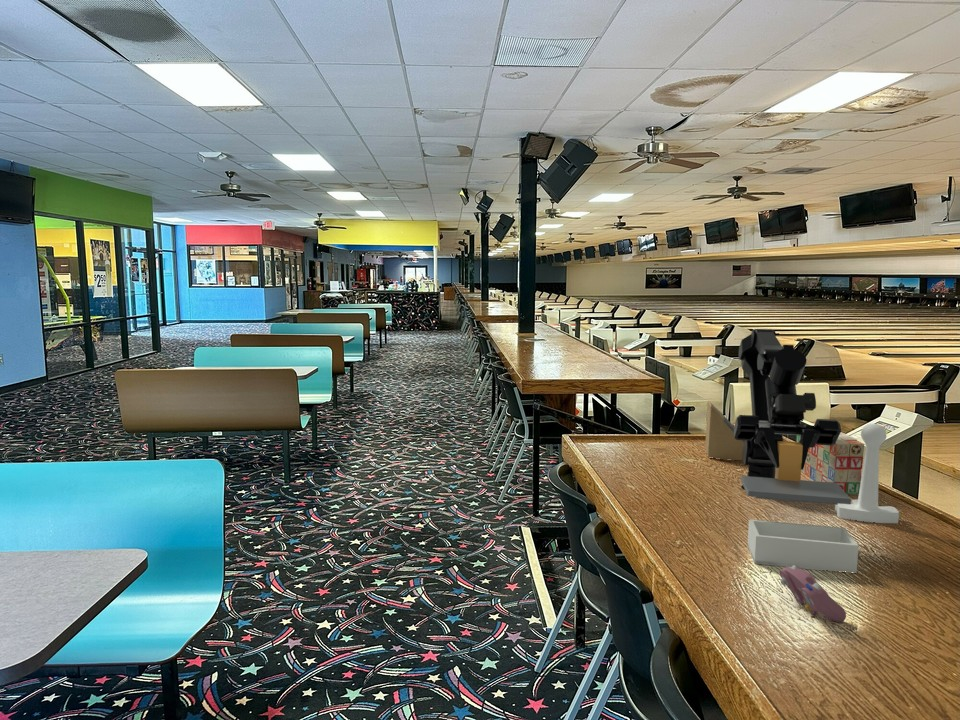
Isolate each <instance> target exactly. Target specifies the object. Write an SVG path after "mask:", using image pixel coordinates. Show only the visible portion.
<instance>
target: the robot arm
mask: <svg viewBox="0 0 960 720" xmlns="http://www.w3.org/2000/svg"><path fill="white" fill-rule="evenodd" d="M740 340H741V341H740V344H739V347H738V360H739V361H740V362H741V368H742V370H743V371H744V372H745V373H746V374H747V376H748V377H749V388H750V402H751V415H749V414H739V415H738V416H736V418H735V419H736V420H735V423H734V425H733V426H734V438H735V439H736V440H745V443H744V446H743V450H742V460H743V461H742V462H743V464H744V465H745V466H748V469H747V470H748V471H747V476H749V477H763V478H775V472H776V468H779V456H778V452H777V442H778V441H784V437H783V435H788V436H789V435H791V436H792V435H793V436H797V435H800V438H801V439H800V443H801V444H802V445H803V451H802V463H801V470H803V468H804V465H805V461H806V457H807V454H808V450H809V448H812V447H815V445H816V444H817V445H834V444H835V443H836V441H837V439H838V437H839V435H840V433H841V432H842V428H841V427H842V426H841V423H840V422H839V421H838V420H836V419H829V418H817V419H816V420H815V423H814V425H807V424H801V422H804V419H805V414H806V413H807V411H814V410H815V409H816V408H817V399H816V394H815V392H804V393H803V394H797V387H796V386H797V385H799V383H800V380H801V378H802V375H803V374H804V370H805V367H806V366H807V357H806V356H805V355H804V353H802V352H801V351H799V350H798V349H795V346H794V344H782V343H781V342H780V341H779V338H778V337H777V334H776V331H775V330H773V329H770V328H766V329H765V328H763V329H762V328H756V329H752V331H751V333H750V334H749V335H747V336H745V337H744V338H743V339H740ZM804 413H805V414H804ZM784 442H786V441H784ZM749 457H750V458H749ZM740 488H741V489H744V490H745V488H744V486H743V484H742V485H740Z"/></svg>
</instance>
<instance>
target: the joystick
mask: <svg viewBox="0 0 960 720" xmlns="http://www.w3.org/2000/svg"><path fill="white" fill-rule="evenodd" d="M860 437H861V439H862V440H863V442H864V445H865V449H864V451H865V452H864V456H863V464H862V469H861V470H862V471H861V481H860V482H861V483H860V490H859V494H858V498H857V499H851V504H839V503H838V505H834V512H836V517H838V518H840V519H843V520H850V519H851V520H850V521H855V520H857V522H863V521H864V522H863V523H873V522H875V524H877V523H878V524H898V523H899V519H900V518H899V516H900V511H899V510H898V509H897V508H896V507H894V506H889V505H886V506H879V477H880V476H879V474H880V473H879V472H880V470H879V469H880V467H879V465H880V448H881V445H882V444H884V442H885V441H886V440H887V431H886V429H885V428H884V427H883V426H882V425H880V424H877V423H868V424H866V425H865V426H863V427H862V429H861V431H860Z"/></svg>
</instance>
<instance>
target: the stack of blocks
mask: <svg viewBox="0 0 960 720" xmlns="http://www.w3.org/2000/svg"><path fill="white" fill-rule="evenodd" d="M795 437H796V438H795V442H800V439H801V438H800V435H795ZM864 451H865V443H863V442H861V441H859V440H858V439H857V438H855V437H853V436H850V435H848V434H846V433H844V432H842V431H841V433H840V435H839V437H838V439H837V441H836V443H835V444H834V445H817V444H816V445H815V447H812V448H809V450H808V454H807V457H806V461H805V465H804V468H803V470H801V473H802V474H804V475H805V476H807V477H808V478H810V479H811V481H819V482H832V483H837V484H838V485H839V486H840V487H841V488H842V489H843V491H844V492H845V493H846V494H847V495H859V490H860V483H861V477H862V470H863V463H864V454H865V452H864Z"/></svg>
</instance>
